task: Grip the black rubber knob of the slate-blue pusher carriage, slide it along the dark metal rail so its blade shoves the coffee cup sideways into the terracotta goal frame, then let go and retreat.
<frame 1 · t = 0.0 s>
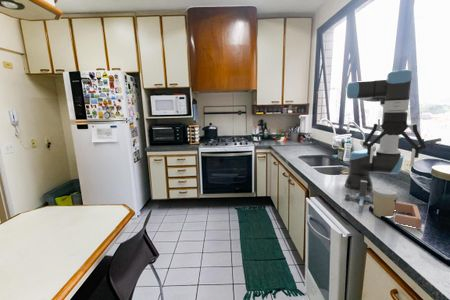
hand: (390, 163, 92), 28 cm above the kitchen counter, fingers open, 13 cm apart
pusher: (362, 195, 115), point 6 cm above the kitchen counter, slide at 0.0 cm
rail: (373, 203, 120), on the kitchen counter
goal: (405, 218, 103), on the kitchen counter
coffee cup: (382, 214, 108), on the kitchen counter
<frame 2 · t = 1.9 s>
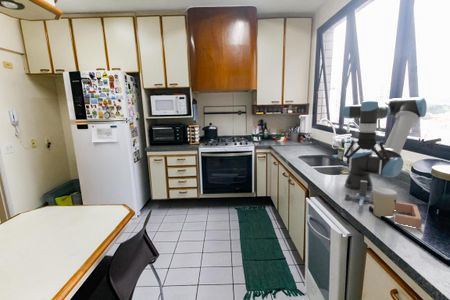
hand: (364, 171, 119), 17 cm above the kitchen counter, fingers open, 13 cm apart
nothing on the kitchen counter moved.
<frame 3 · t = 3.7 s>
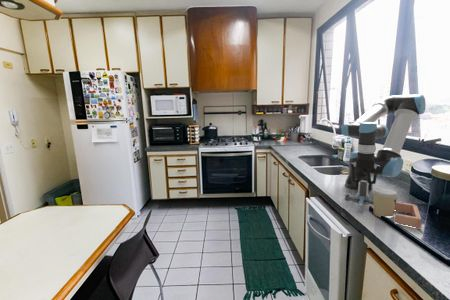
hand: (362, 194, 122), 4 cm above the kitchen counter, fingers closed on pusher, 3 cm apart
pusher: (362, 195, 115), point 6 cm above the kitchen counter, slide at 0.0 cm, touching gripper
everything else where it was.
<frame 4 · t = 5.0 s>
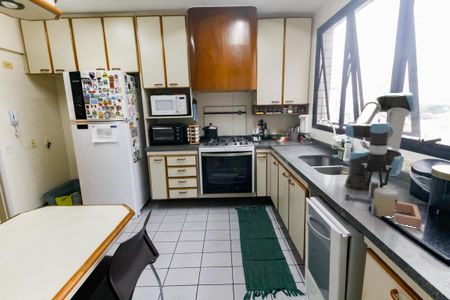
hand: (373, 196, 119), 4 cm above the kitchen counter, fingers closed on pusher, 3 cm apart
pusher: (373, 197, 113), point 6 cm above the kitchen counter, slide at 5.0 cm, touching coffee cup, gripper
coffee cup: (383, 215, 107), on the kitchen counter, touching pusher
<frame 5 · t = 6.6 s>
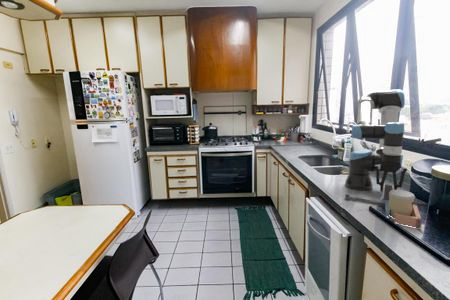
hand: (387, 198, 116), 4 cm above the kitchen counter, fingers closed on pusher, 3 cm apart
pusher: (388, 199, 109), point 6 cm above the kitchen counter, slide at 10.8 cm, touching coffee cup, gripper
coffee cup: (399, 217, 104), on the kitchen counter, touching pusher
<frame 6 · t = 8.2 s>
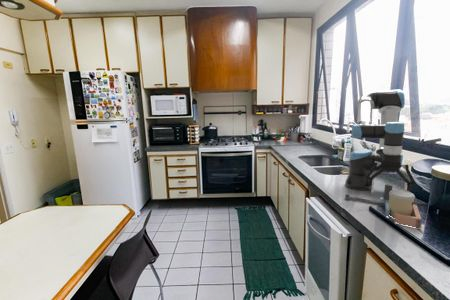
hand: (387, 194, 115), 6 cm above the kitchen counter, fingers open, 13 cm apart
pusher: (388, 199, 109), point 6 cm above the kitchen counter, slide at 10.9 cm
coffee cup: (399, 217, 104), on the kitchen counter
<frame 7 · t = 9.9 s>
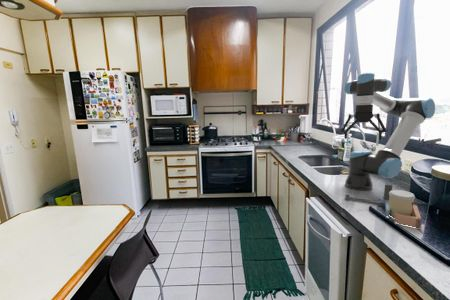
hand: (361, 144, 120), 31 cm above the kitchen counter, fingers open, 13 cm apart
nothing on the kitchen counter moved.
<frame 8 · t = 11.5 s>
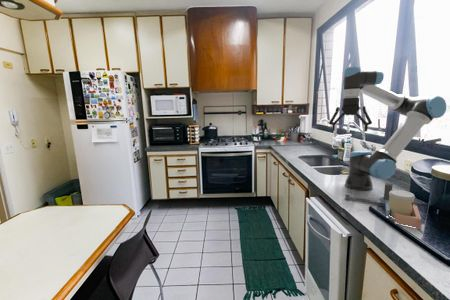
hand: (348, 137, 123), 35 cm above the kitchen counter, fingers open, 13 cm apart
nothing on the kitchen counter moved.
at the end: coffee cup inside the target area (2.5 cm from its centre), on the kitchen counter; coffee cup tilted 0°; pusher slide at 10.9 cm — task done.
